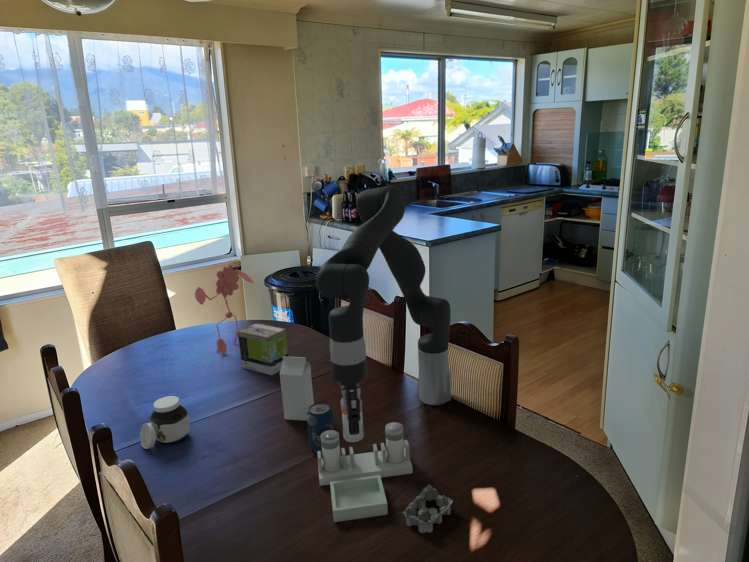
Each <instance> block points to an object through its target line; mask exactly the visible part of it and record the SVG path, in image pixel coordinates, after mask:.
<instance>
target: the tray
mask: <svg viewBox="0 0 749 562" xmlns="http://www.w3.org/2000/svg"><path fill="white" fill-rule="evenodd" d="M383 485H384V484H383V482H382V478H381V476H380V475H377V476H369V477H362V478H354V479H347V480H340V481H332V482H330V485H329V486H330V487H329V488H330V495H331V496H330V497H331V505H332V506H331V507H332V508H331V509H332V516H333V523H337V522H345V521H351V520H352V521H353V520H359V519H360V520H361V519H364V518H372V517H378V516H386V515H389V513H388V510H389V509H388V502H387V497H386V494H385V493H386V492H385V488H384V486H383Z"/></svg>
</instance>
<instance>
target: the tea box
mask: <svg viewBox="0 0 749 562" xmlns="http://www.w3.org/2000/svg"><path fill="white" fill-rule="evenodd" d="M238 337H239V338H238ZM238 337H237V338H238V345H239V351H240V357H241V358H240V359H241V366H242V367H241V368H243V369H246V370H250V371H253V372H257V373H261V374H264V375H265V374H266V375H269V376H274V375H275V374H278V373H280V370H281V366H282V361H283V356H284V357H289V350H288V341H287V340H288V337H287V330H286V328H283V327H278V326H272V325H268V324H263V323H258V322H257V323H254V324H251V325H249V326H247V327H245V328H243V329H240V330H238Z"/></svg>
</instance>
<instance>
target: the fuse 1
mask: <svg viewBox="0 0 749 562" xmlns="http://www.w3.org/2000/svg"><path fill="white" fill-rule="evenodd" d="M340 441H341V440H340V433H339V432H338V431H336V430H335V429H334V430H328V431H325V432H323V433H322V434H321V446H322V454H321V456H322V459H323V468H324V470H325V471H326V472H330V473H333V472H337V471H339V470H340V469H341V456H342V455H341V447H340V446H341V445H340V444H341V443H340Z"/></svg>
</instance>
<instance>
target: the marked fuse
mask: <svg viewBox="0 0 749 562" xmlns="http://www.w3.org/2000/svg"><path fill="white" fill-rule="evenodd" d="M346 401H347V400H346ZM360 404H361V407H360V417H361V419H360V421H359V431H360V433H359V434H356V435H350V434H349V424H348V419H347V410H346V409H345V407H344V398H343V397H341V399H340V409H341V410H340V412H341V417H342V418H341V419H342V435H343V440H345V441H346V442H348V443H357V442H360V441H362V440H363V439H364V435H365V434H364V433H365V432H364V419H363V402H362V397H361V396H360Z"/></svg>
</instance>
